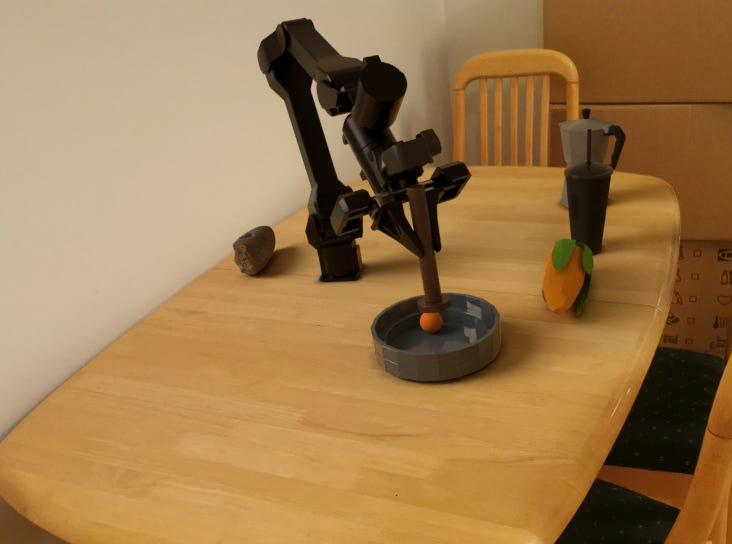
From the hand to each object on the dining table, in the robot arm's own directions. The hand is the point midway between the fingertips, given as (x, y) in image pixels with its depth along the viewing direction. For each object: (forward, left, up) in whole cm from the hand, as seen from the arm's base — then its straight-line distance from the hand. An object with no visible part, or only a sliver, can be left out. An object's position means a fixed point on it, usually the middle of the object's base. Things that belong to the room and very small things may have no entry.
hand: (431, 253), depth 87 cm
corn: (+17, +14, -14) cm, 27 cm away
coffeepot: (+24, +55, -14) cm, 62 cm away
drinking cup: (+22, +32, -14) cm, 41 cm away
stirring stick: (0, 0, -8) cm, 8 cm away
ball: (-2, +4, -12) cm, 13 cm away
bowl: (0, 0, -14) cm, 14 cm away
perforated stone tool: (-37, +33, -14) cm, 52 cm away
